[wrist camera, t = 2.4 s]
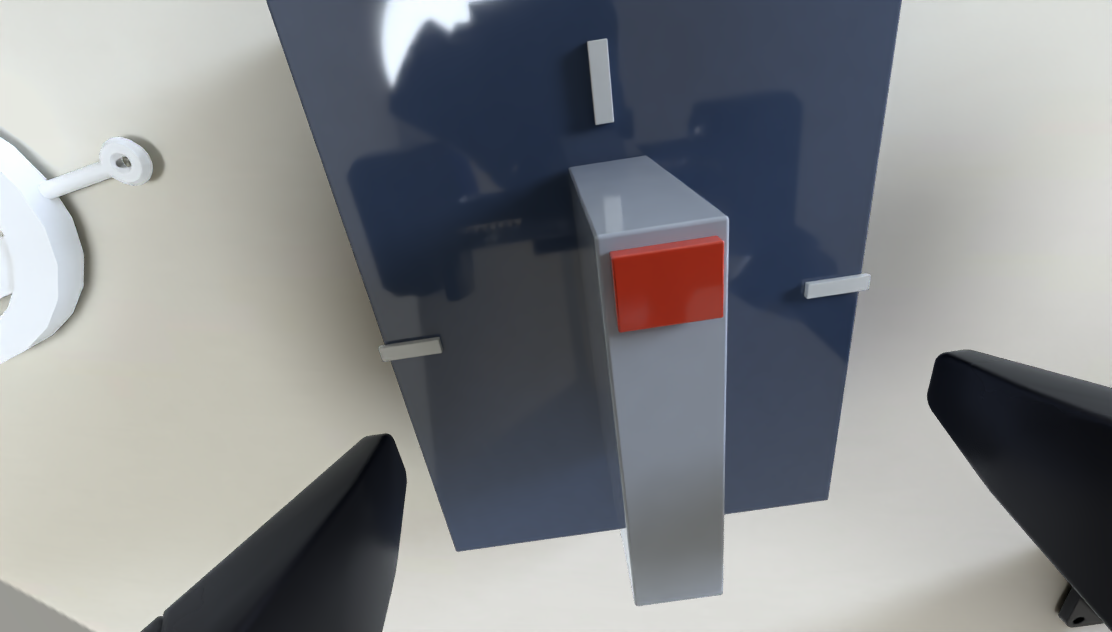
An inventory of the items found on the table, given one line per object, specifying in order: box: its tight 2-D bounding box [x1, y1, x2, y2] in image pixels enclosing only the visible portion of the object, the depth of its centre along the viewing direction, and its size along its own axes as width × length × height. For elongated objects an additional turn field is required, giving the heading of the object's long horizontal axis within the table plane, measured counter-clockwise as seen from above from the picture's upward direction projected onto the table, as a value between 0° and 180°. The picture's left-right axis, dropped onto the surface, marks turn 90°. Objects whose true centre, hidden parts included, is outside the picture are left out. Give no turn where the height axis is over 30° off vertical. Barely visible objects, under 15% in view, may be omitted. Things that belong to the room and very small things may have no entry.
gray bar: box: [568, 155, 729, 606], centre depth 9 cm, size 7×2×5 cm, turn 8°
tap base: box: [266, 0, 902, 552], centre depth 13 cm, size 14×11×3 cm
